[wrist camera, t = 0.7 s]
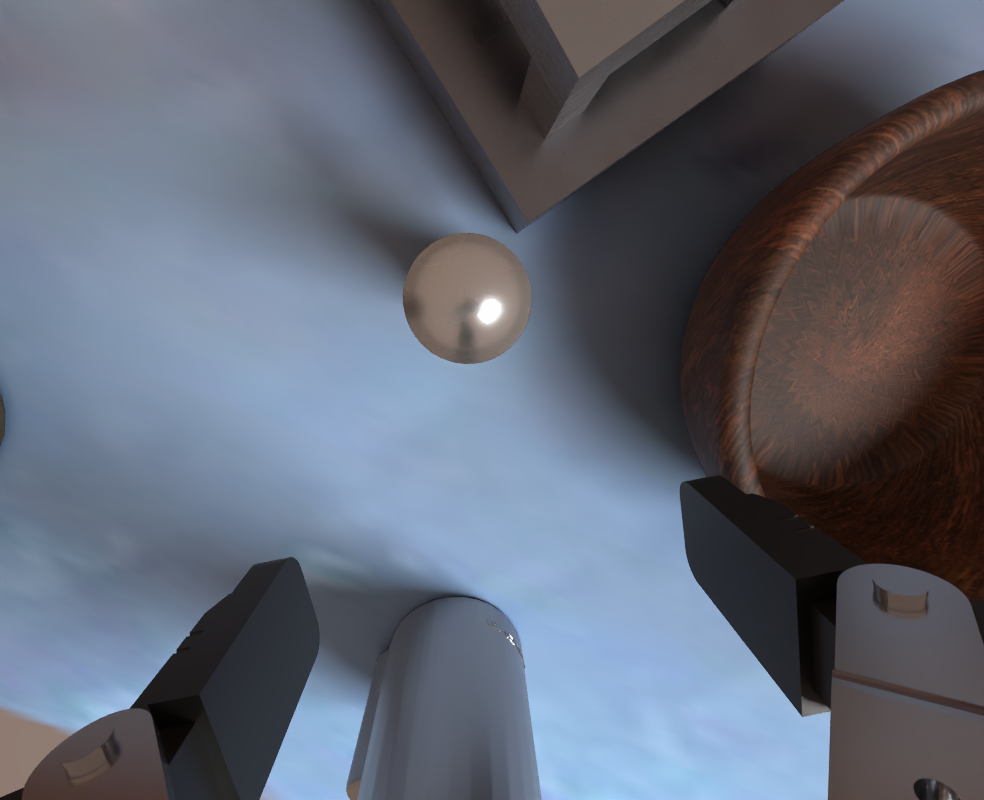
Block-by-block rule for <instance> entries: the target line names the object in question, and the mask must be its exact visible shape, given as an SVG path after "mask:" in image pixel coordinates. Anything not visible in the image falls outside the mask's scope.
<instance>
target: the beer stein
mask: <svg viewBox="0 0 984 800" xmlns="http://www.w3.org/2000/svg"><path fill="white" fill-rule="evenodd" d="M4 432H5V409H4V404H3V400H2V396H1V394H0V445H1V442H2V439H3V437H4Z"/></svg>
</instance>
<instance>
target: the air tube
mask: <svg viewBox="0 0 984 800" xmlns="http://www.w3.org/2000/svg"><path fill="white" fill-rule="evenodd" d="M531 299H532V295H531V287H530V283H529V279H528V276H527V274H526V271H525V269H524V267H523V266H522V264H521V262H520V261H519V260H518V258H517V257H516V256H515V255H514V254H513V253H512V251H511V250H509V249H508V248H507V247H506V246H504V245H503V244H502V243H500V242H498V241H497V240H495V239H492V238H490V237H487V236H484V235H480V234H474V233H460V234H453V235H450V236H446V237H444V238H441V239H439V240H437V241H435V242H434V243H432V244H430V245H429V246H428V247H427V248H425V249H424V250H423V251H422V252H421V253H420V254H419V255H418V257H417V258H416V259H415V261H414V262H413V264H412V266H411V268H410V269H409V271H408V274H407V277H406V280H405V285H404V291H403V306H404V311H405V315H406V319H407V322H408V324H409V326H410V328H411V330H412V332H413V333H414V335H415V337H416V338H417V339H418V340H419V342H420V343H421V344H422V345H423V346H424V347H425V348H426V349H428V350H429V351H430V352H432V353H433V354H435V355H437V356H439V357H440V358H443V359H445V360H448V361H451V362H455V363H462V364H474V363H481V362H485V361H488V360H491V359H493V358H495V357H497V356H499V355H501V354H502V353H504V352H505V351H507V350H508V349H509V348H510V347H511V346H512V345H513V344H514V343H515V342H516V341H517V340H518V338H519V337H520V336H521V334H522V332H523V331H524V329H525V327H526V324H527V322H528V319H529V315H530V311H531Z"/></svg>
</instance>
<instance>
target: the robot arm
mask: <svg viewBox="0 0 984 800" xmlns="http://www.w3.org/2000/svg"><path fill="white" fill-rule="evenodd" d="M680 501H681V510H682V520H683V529H684V539H685V549H686V555H687V559H688V563H689V566H690V568H691V571H692V573H693V575H694V577H695V579H696V581H697V582H698V584H699V585H700V586H701V587H702V589H703V590H704V591H705V593H706V594H707V595H708V596H709V598H710V599H711V600H712V602H713V603H714V604H715V605H716V607H717V608H718V609H719V611H720V612H721V613H722V614H723V616H724V617H725V618H726V620H727V621H728V622H729V623H730V625H731V626H732V627H733V629H734V630H735V631H736V632H737V634H738V635H739V636H740V638H741V639H742V640H743V641H744V643H745V644H746V645H747V647H748V648H749V649H750V650H751V652H752V653H753V654H754V656H755V657H756V658H757V659H758V661H759V662H760V663H761V665H762V666H763V667H764V668H765V670H766V671H767V672H768V673H769V675H770V676H771V677H772V679H773V680H774V681H775V682H776V684H777V685H778V686H779V688H780V689H781V690H782V691H783V693H784V694H785V695H786V697H787V698H788V699H789V700H790V702H791V703H792V704H793V706H794V707H795V708H796V709H797V711H798V712H799V713H800V715H801V716H802V717H804V716H809V715H814V714H819V713H824V712H829V711H831V720H830V751H829V782H828V800H984V600H968V598H967V597H966V596H965V595H964V594H963V593H962V592H961V591H960V590H959V589H958V588H956V587H955V586H953V585H952V584H950V583H949V582H947V581H945V580H943V579H941V578H939V577H937V576H934V575H932V574H930V573H927V572H924V571H921V570H918V569H914V568H909V567H905V566H899V565H892V564H867V563H866V562H864V561H863V560H862V559H860V558H859V557H857V556H856V555H854V554H853V553H851V552H850V551H849V550H847V549H846V548H844V547H843V546H841V545H840V544H838V543H837V542H836V541H834V540H833V539H831V538H830V537H828V536H827V535H826V534H824V533H823V532H821V531H820V530H818V529H817V530H815V529H814V526H813V525H811V524H810V523H808V522H807V521H805V520H804V519H802V518H798V515H797V514H795V513H794V512H792V511H791V510H789V509H788V508H787V507H785V506H784V505H782V504H781V503H779V502H777V501H774V500H771V499H768V498H766V497H763V496H760V495H757V494H754V493H751V494H745V493H744V492H743V491H741V490H740V489H739V488H737V487H736V486H735V485H733V484H732V483H731V482H729V481H728V480H727V479H725V478H724V477H722V476H721V475H716V476H711V477H706V478H700V479H695V480H690V481H685V482H682V484H681V486H680ZM318 649H319V627H318V622H317V618H316V615H315V612H314V609H313V605H312V602H311V599H310V596H309V592H308V589H307V586H306V583H305V579H304V576H303V573H302V570H301V567H300V565H299V563H298V561H297V560H296V559H295V558H293V557H290V558H285V559H279V560H274V561H269V562H264V563H259V564H255V565H253V566H252V567H251V568H250V570H249V571H248V572H247V574H246V575H245V576H244V578H243V579H242V580H241V582H240V583H239V584H238V586H237V587H236V588H235V590H234V591H233V592H232V594H229V595H227V596H226V597H225V598H224V599H222V600H221V601H220V602H219V603H217V604H216V605H215V606H214V607H212V608H211V609H210V610H209V611H207V612H206V613H205V614H204V615H203V617H202V618H201V619H200V621H199V622H198V623H197V624H196V626H195V627H194V628H193V629H192V631H191V632H190V636H188V637H186V638H185V639H184V641H183V642H182V643H181V645H180V646H179V647H178V648H177V653H176V654H173V655H172V656H171V657H170V658H169V660H168V661H167V662H166V663H165V665H164V666H163V667H162V669H161V670H160V671H159V672H158V674H157V675H156V676H155V677H154V679H153V680H152V681H151V682H150V684H149V685H148V686H147V687H146V689H145V690H144V691H143V693H142V694H141V695H140V696H139V698H138V699H137V700H136V701H135V703H134V704H133V705H132V706H131V708H130V709H126V710H122V711H118V712H115V713H112V714H109V715H107V716H105V717H102V718H100V719H98V720H96V721H94V722H92V723H90V724H89V725H87V726H85V727H83V728H82V729H80V730H79V731H77V732H76V733H74V734H73V735H71V736H70V737H68V738H67V739H66V740H64V741H63V742H62V743H60V744H59V745H58V746H57V747H56V748H55V749H54V750H52V751H51V752H50V753H49V754H48V755H47V756H46V757H45V758H44V759H43V760H42V761H41V762H40V763H39V764H38V766H37V767H36V768H35V769H34V771H33V772H32V773H31V775H30V776H29V778H28V780H27V782H26V784H25V786H24V788H22V789H20V790H17V791H15V792H12V793H10V794H7V795H5V796H3V797H1V798H0V800H259V799H260V797H261V794H262V792H263V789H264V787H265V784H266V782H267V779H268V777H269V774H270V772H271V769H272V767H273V764H274V762H275V759H276V757H277V754H278V752H279V749H280V747H281V744H282V742H283V739H284V737H285V734H286V732H287V729H288V727H289V724H290V722H291V719H292V717H293V714H294V712H295V709H296V707H297V704H298V702H299V699H300V697H301V694H302V692H303V689H304V687H305V684H306V682H307V679H308V677H309V674H310V672H311V669H312V667H313V664H314V662H315V659H316V657H317V654H318ZM524 669H525V666H524V660H523V655H522V649H521V642H520V639H519V636H518V633H517V631H516V629H515V627H514V626H513V624H512V623H511V621H510V620H509V619H508V618H507V617H506V616H505V615H504V614H503V613H502V612H501V611H499V610H498V609H496V608H495V607H493V606H492V605H490V604H487V603H485V602H482V601H480V600H477V599H471V598H466V597H447V598H442V599H437V600H433V601H431V602H428V603H426V604H423V605H421V606H420V607H418V608H417V609H415V610H413V611H412V612H410V613H409V614H408V615H407V616H406V617H405V618H404V619H403V620H402V621H401V623H400V624H399V626H398V628H397V629H396V631H395V632H394V635H393V638H392V641H391V644H390V646H389V648H388V649H387V650H386V651H385V652H383V653H381V654H380V655H379V656H378V658H377V662H376V666H375V670H374V674H373V679H372V683H371V687H370V691H369V695H368V699H367V703H366V707H365V711H364V715H363V720H362V724H361V728H360V732H359V736H358V740H357V744H356V748H355V752H354V757H353V761H352V765H351V769H350V773H349V777H348V781H347V787H346V790H347V795H348V797H349V798H350V800H542V798H541V791H540V783H539V776H538V769H537V761H536V754H535V746H534V739H533V731H532V724H531V717H530V709H529V702H528V694H527V686H526V679H525V671H524Z"/></svg>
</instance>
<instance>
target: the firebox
mask: <svg viewBox="0 0 984 800" xmlns="http://www.w3.org/2000/svg"><path fill="white" fill-rule="evenodd" d="M843 1H844V0H371V2H372V4H373V5H374V7H375V8H376V10H377V12H378V13H379V15H380V16H381V18H382V20H383V21H384V23H385V24H386V26H387V28H388V29H389V31H390V32H391V34H392V35H393V37H394V39H395V40H396V42H397V43H398V45H399V47H400V48H401V50H402V51H403V53H404V55H405V56H406V58H407V59H408V61H409V62H410V64H411V66H412V67H413V69H414V70H415V72H416V74H417V75H418V77H419V78H420V80H421V82H422V83H423V85H424V86H425V88H426V89H427V91H428V93H429V94H430V96H431V97H432V99H433V101H434V102H435V104H436V105H437V107H438V109H439V110H440V112H441V113H442V115H443V116H444V118H445V120H446V121H447V123H448V124H449V126H450V128H451V129H452V131H453V132H454V134H455V136H456V137H457V139H458V140H459V142H460V144H461V145H462V147H463V148H464V150H465V151H466V153H467V155H468V156H469V158H470V159H471V161H472V163H473V164H474V166H475V167H476V169H477V171H478V172H479V174H480V175H481V177H482V178H483V180H484V182H485V183H486V185H487V186H488V188H489V190H490V191H491V193H492V194H493V196H494V198H495V199H496V201H497V202H498V204H499V205H500V207H501V209H502V210H503V212H504V213H505V215H506V217H507V218H508V220H509V221H510V223H511V225H512V226H513V228H514V229H515V231H516V232H517V233H518V232H519V231H521V230H522V229H524V228H525V227H527V226H528V225H529V224H531V223H532V222H534V221H535V220H536V219H538V218H539V217H541V216H542V215H544V214H545V213H546V212H548V211H549V210H551V209H552V208H554V207H555V206H556V205H558V204H559V203H561V202H562V201H563V200H565V199H566V198H568V197H569V196H571V195H572V194H573V193H575V192H576V191H578V190H579V189H580V188H582V187H583V186H585V185H586V184H588V183H589V182H590V181H592V180H593V179H595V178H596V177H598V176H599V175H600V174H602V173H603V172H605V171H606V170H607V169H609V168H610V167H612V166H613V165H615V164H616V163H617V162H619V161H620V160H622V159H623V158H624V157H626V156H627V155H629V154H630V153H632V152H633V151H634V150H636V149H637V148H639V147H640V146H642V145H643V144H644V143H646V142H647V141H649V140H650V139H651V138H653V137H654V136H656V135H657V134H659V133H660V132H661V131H663V130H664V129H666V128H667V127H669V126H670V125H671V124H673V123H674V122H676V121H677V120H678V119H680V118H681V117H683V116H684V115H686V114H687V113H688V112H690V111H691V110H693V109H694V108H695V107H697V106H698V105H700V104H701V103H703V102H704V101H705V100H707V99H708V98H710V97H711V96H713V95H714V94H715V93H717V92H718V91H720V90H721V89H722V88H724V87H725V86H727V85H728V84H730V83H731V82H732V81H734V80H735V79H737V78H738V77H739V76H741V75H742V74H744V73H745V72H747V71H748V70H749V69H751V68H752V67H754V66H755V65H757V64H758V63H759V62H761V61H762V60H764V59H765V58H766V57H768V56H769V55H770V54H772V53H773V52H775V51H776V50H777V49H779V48H780V47H781V46H783V45H784V44H785V43H787V42H788V41H790V40H791V39H792V38H794V37H795V36H796V35H798V34H799V33H800V32H802V31H803V30H804V29H806V28H807V27H809V26H810V25H811V24H813V23H814V22H815V21H817V20H818V19H819V18H821V17H822V16H824V15H825V14H826V13H828V12H829V11H830V10H832V9H833V8H834V7H836V6H837V5H838V4H840V3H841V2H843Z"/></svg>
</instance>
